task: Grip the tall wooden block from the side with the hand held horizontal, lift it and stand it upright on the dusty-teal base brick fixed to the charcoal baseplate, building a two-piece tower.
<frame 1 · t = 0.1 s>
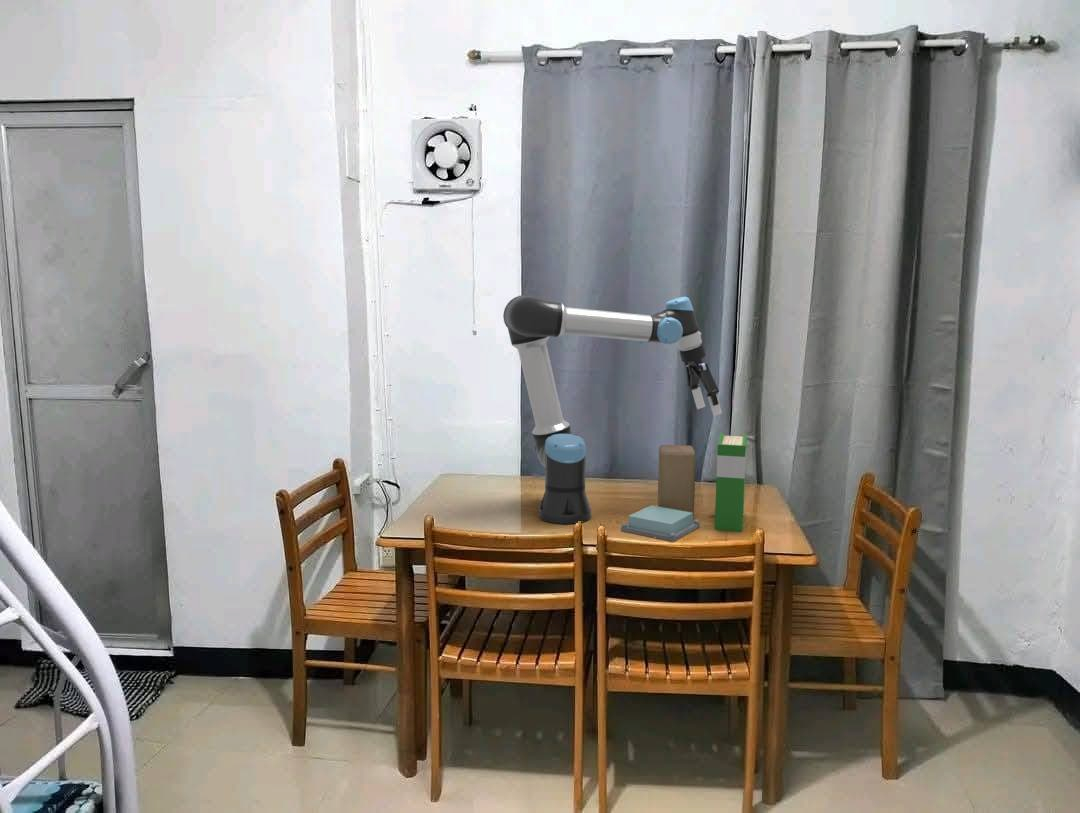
hand: (709, 411, 249), 28 cm above the table, tool tilted 20°, fingers open, 13 cm apart
wooden block: (675, 515, 235), on the table
hardback book: (729, 522, 228), on the table
base plate: (660, 528, 221), on the table
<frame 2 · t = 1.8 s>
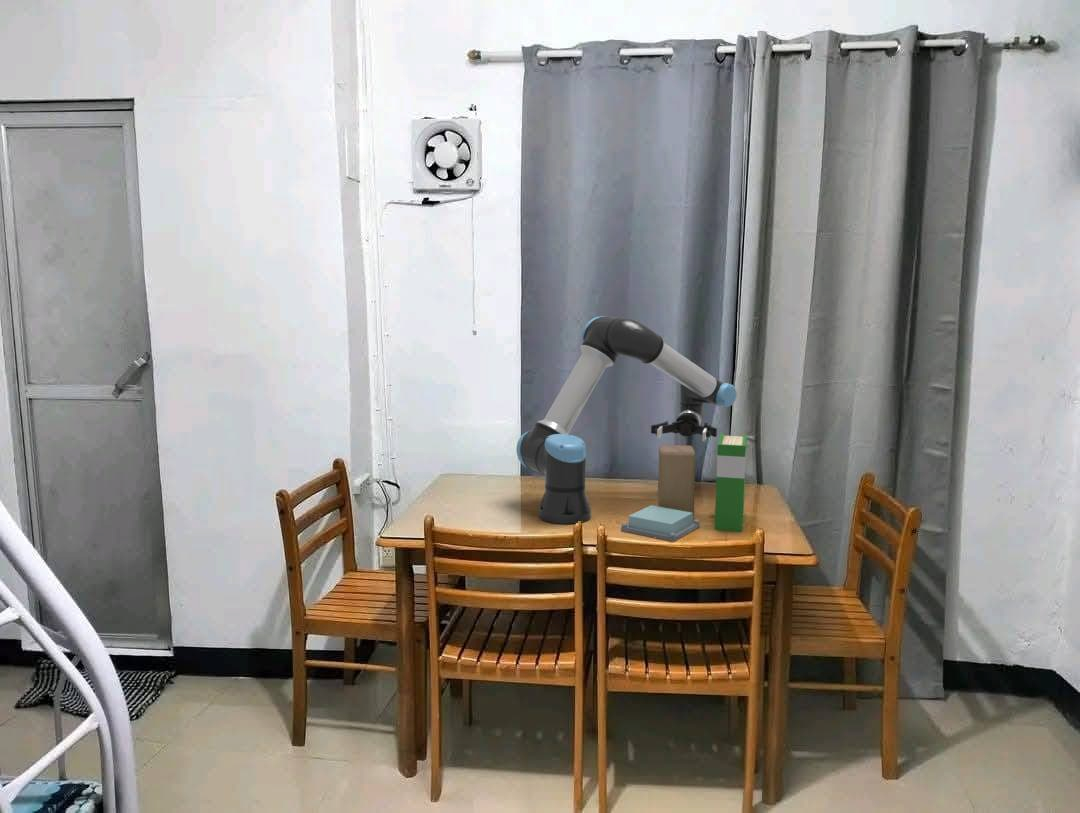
hand: (680, 435, 241), 22 cm above the table, tool horizontal, fingers open, 13 cm apart
nothing on the table moved.
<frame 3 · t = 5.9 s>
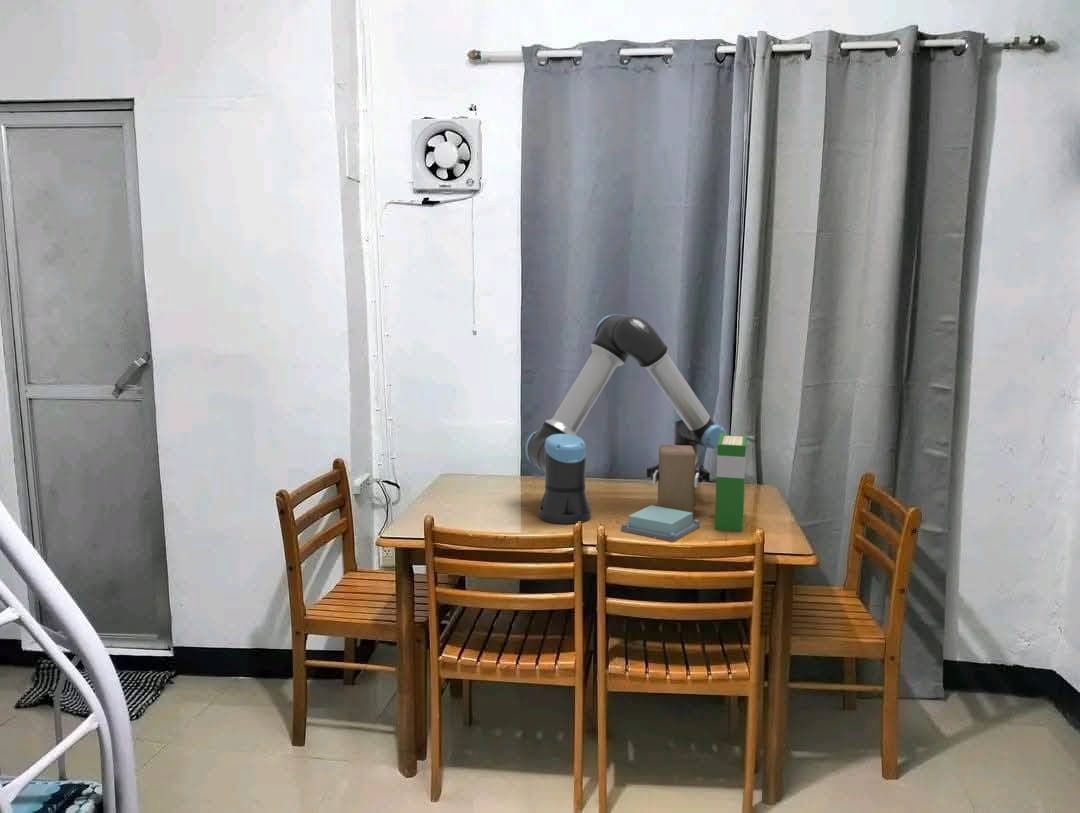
hand: (674, 481, 229), 11 cm above the table, tool horizontal, fingers closed on wooden block, 11 cm apart
wooden block: (675, 515, 235), on the table, touching gripper
everything else where it was.
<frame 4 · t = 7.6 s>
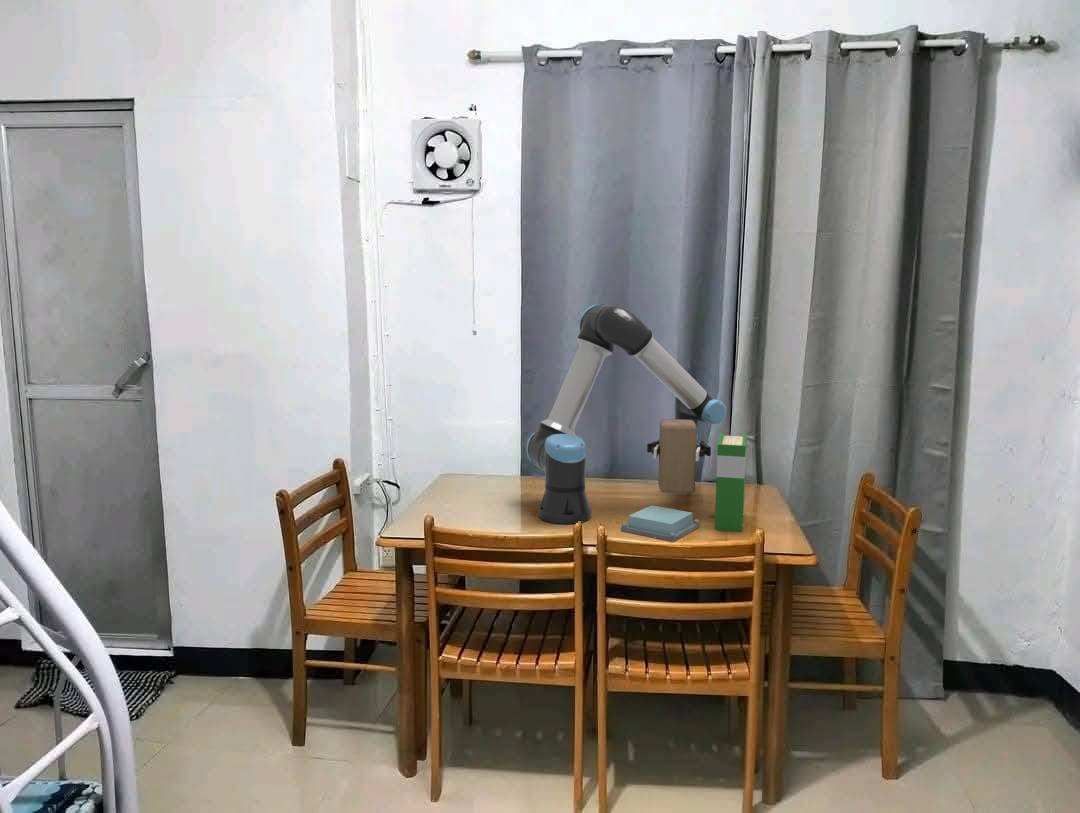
hand: (675, 455, 227), 19 cm above the table, tool horizontal, fingers closed on wooden block, 11 cm apart
wooden block: (676, 490, 233), point 8 cm above the table, touching gripper
everything else where it was.
when the fingers open (17 cm above the table, at t = 9.7 s): wooden block drops 1 cm, resting on base plate.
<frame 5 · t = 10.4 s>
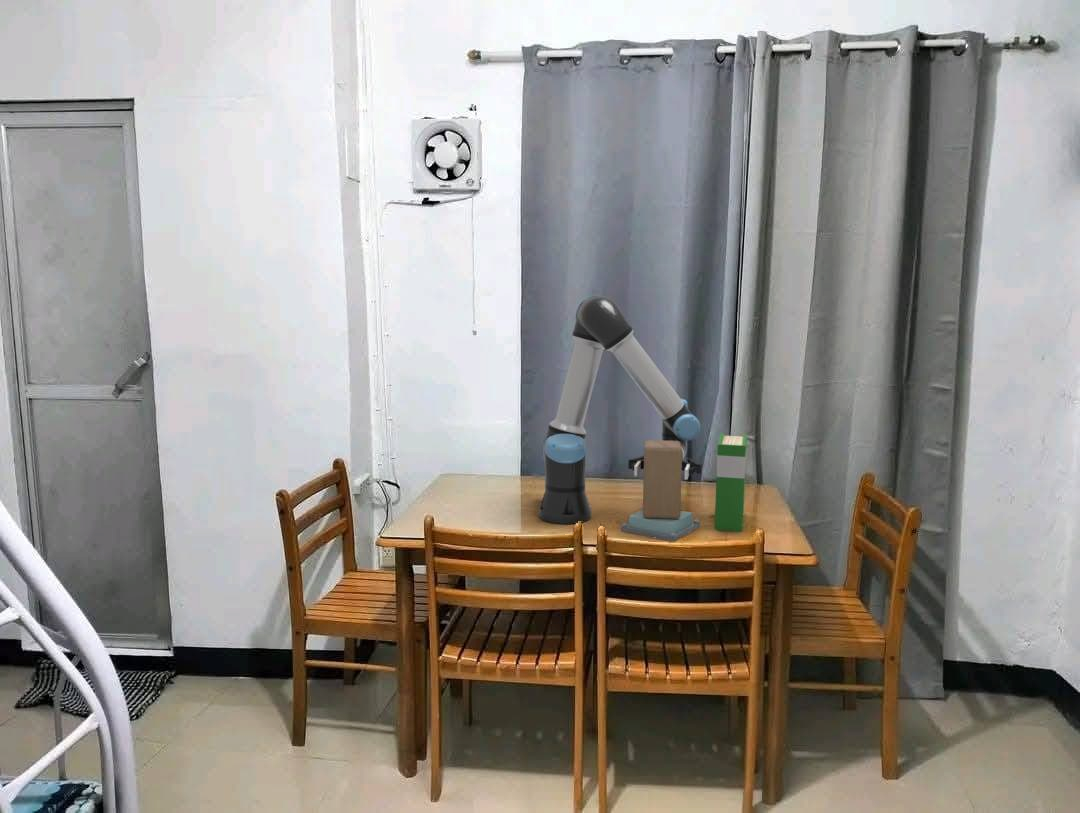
hand: (660, 472, 215), 17 cm above the table, tool horizontal, fingers open, 13 cm apart
wooden block: (661, 514, 221), point 4 cm above the table, touching base plate
everything else where it was.
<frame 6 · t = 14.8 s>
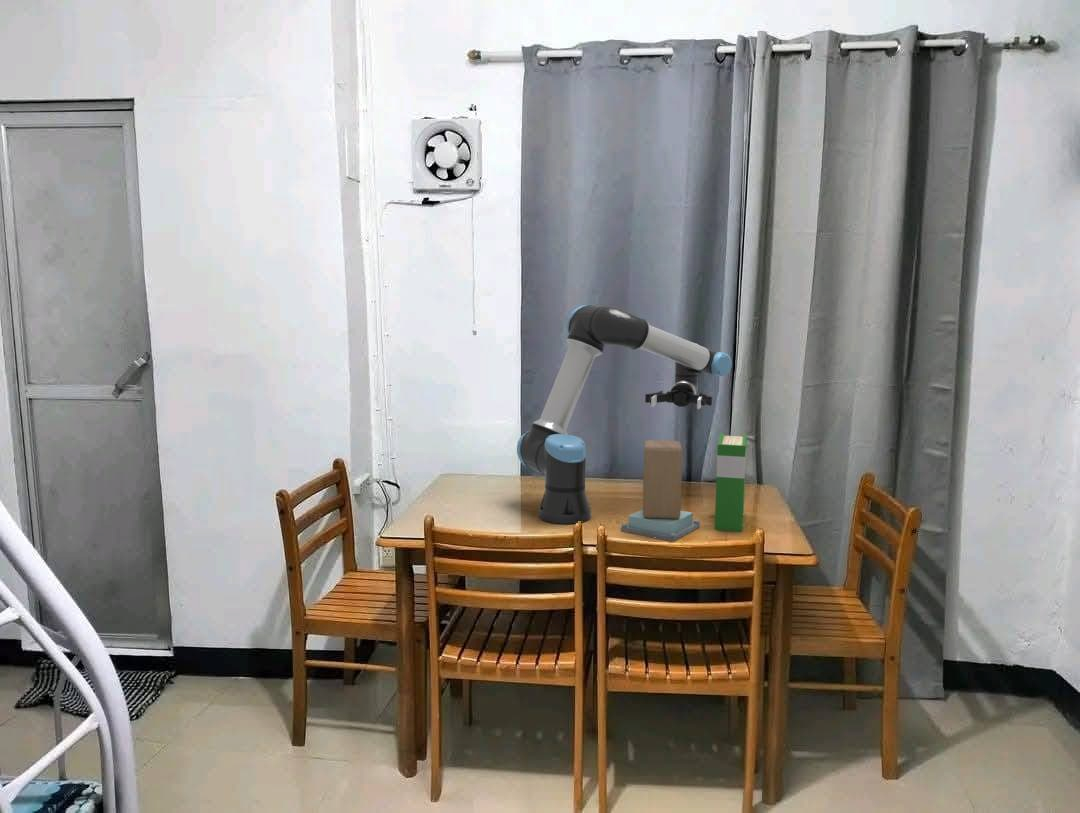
hand: (675, 403, 237), 32 cm above the table, tool horizontal, fingers open, 13 cm apart
nothing on the table moved.
at the end: wooden block 0.1 cm off-centre on the base plate, point 4.0 cm above the base plate's base; wooden block tilted 0°; the gripper is holding nothing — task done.
